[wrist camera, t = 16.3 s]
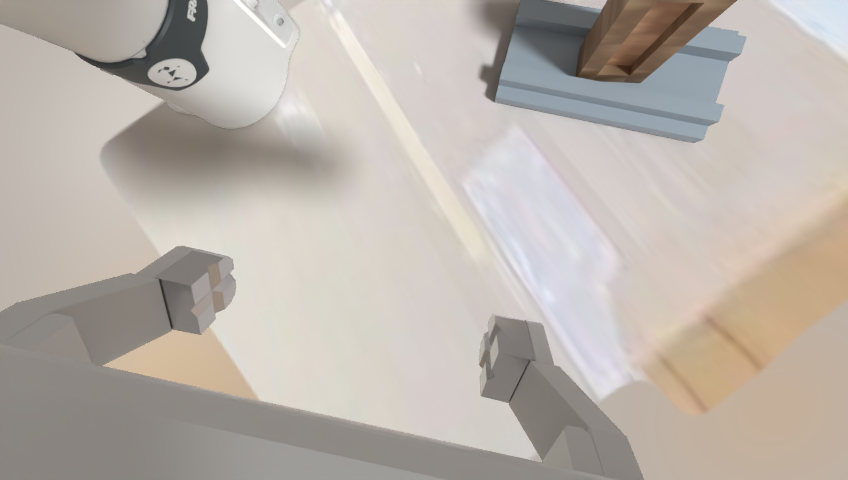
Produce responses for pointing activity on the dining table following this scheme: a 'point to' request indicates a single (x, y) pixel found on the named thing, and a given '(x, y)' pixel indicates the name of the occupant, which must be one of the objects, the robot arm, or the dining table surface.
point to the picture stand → (613, 101)
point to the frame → (641, 36)
